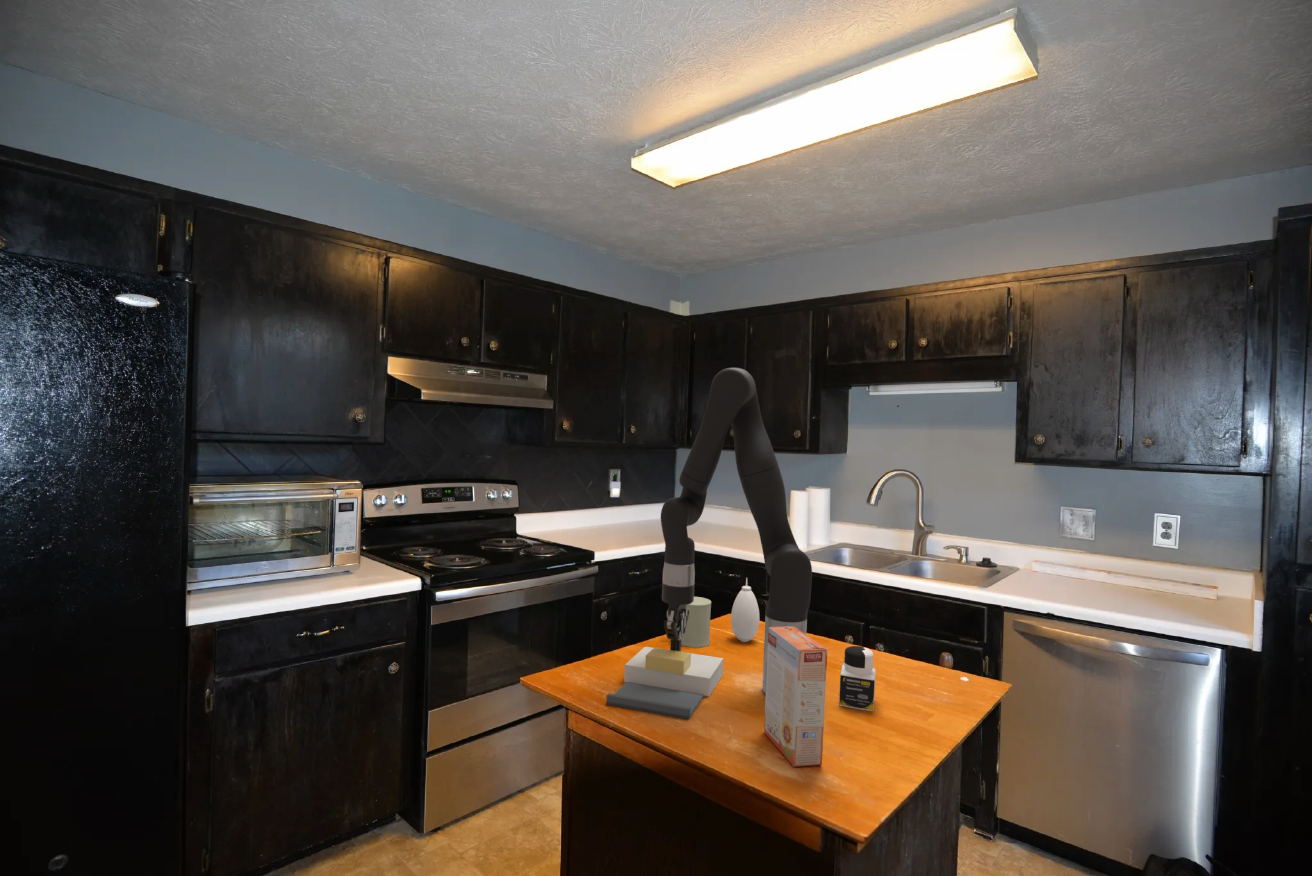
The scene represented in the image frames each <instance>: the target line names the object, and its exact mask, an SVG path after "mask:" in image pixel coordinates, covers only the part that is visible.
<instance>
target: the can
mask: <svg viewBox="0 0 1312 876" xmlns="http://www.w3.org/2000/svg"><path fill="white" fill-rule="evenodd" d="M711 608H712V601H711V600H710V599H708V598H705V597H699V596H694V601H693V602H692V603H691V604H688V605H686V609H687V610H689V616H688V621H687V625H686V630H685V634H683V638H682V639H681V646H683V647H688V648H704V647H707V646H709V645H710V643H711V641H710V635H711V634H710V633H711V631H710V630H711V629H710V628H711Z"/></svg>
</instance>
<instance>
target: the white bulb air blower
mask: <svg viewBox="0 0 1312 876" xmlns="http://www.w3.org/2000/svg"><path fill="white" fill-rule="evenodd" d="M745 579H746V580H745V585H743V586H741V590H740V591H739V592H738V593H737V595H736V597H735V600H734V601H733V605H732V608H731V616H730V625H731V629H732V633H733V635H734V636H735V637H736V638H737V639H738V640H739V641H740V642H741V643H748V642H750V641H751V640H752V639H754V637H756V634H757V632H758V630H759V626H760V609H759V605H758V600H757V598H756V595H755V594H754V592H753V591H752V587H751V586H749V585H748V577H746V578H745Z"/></svg>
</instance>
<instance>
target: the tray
mask: <svg viewBox="0 0 1312 876" xmlns="http://www.w3.org/2000/svg"><path fill="white" fill-rule="evenodd" d="M704 697H705V696H704V695H702V694H696V693H691V692H685V691H679V690H673V689H667V688H661V687H655V686H649V685H643V684H637V683H631V682H624V684H622V686H621V687H620V688H619V689H618V690H616V692H614V693H607V694H606V704H608V705H607V706H613V707H617V706H620V707H619V708H624V709H628V708H629V710H634V711H635V710H636V711H640V712H646V713H649V714H657V715H661V716H666V715H667V716H668V717H673V718H680V719H682V720H687V721H688V720H690V718H691V717H693V714H694V712H695V711H696V710H697V708H698V706H699V705H700V704H701V702H702V700H703V699H704Z"/></svg>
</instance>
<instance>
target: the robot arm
mask: <svg viewBox="0 0 1312 876" xmlns="http://www.w3.org/2000/svg"><path fill="white" fill-rule="evenodd" d="M756 387H757V386H756V382H755V379H754V378H753V375H751V373H750V372H749V371H747V370H746V369H743V368H740V367H728V368H727V367H726V368H724V369H722V370H720V371H719V372H718V373H716V374H715V376H714V377H713V379H712V381H711V385H710V389H709V393H708V398H707V403H706V407H705V411H704V415H703V417H702V420H701V422H700V423H701V424H700V427H699V430H698V431H697V434H696V437H695V439H694V442H693V444H692V446H691V449H690V451H689V454H688V456H687V458H686V460H685V463H684V465H683V468H682V470H681V473H680V475H679V479H678V480H679V484H680V486H681V487H682V489H681V493H680V496H677V497H671V498H670V497H669V498H668V499H666V500H665V502H664V503H663V505H662V507H661V509H660V525H661V530H662V535H663V536H662V537H663V540H664V545H665V547H664V562H663V568H662V583H661V584H662V587H661V592H662V593H661V600H662V602H664V603H667V604H668V609H667V610H666V618H667V620H664V621H663V627H664V631H665V634H666V638H667V639H668V640H670V648H669V650H673V651H680V652H682V645H681V639H682V638H683V634H685V630H686V625H687V621H688V616H689V610H687V609H686V605H688V604H691V603H692V602H693V601H694V597H695V575H696V571H695V569H696V568H695V551H696V550H695V548H696V545H695V541H694V540H693V538H692V537H689V534H688V527H689V526H692V525H694V524H696V523H697V522H698V521H699V519H700V518H701V516H702V514H703V512H704V509H705V503H706V499H707V494H708V487H709V486H710V484H711V482H712V479H713V477H714V474H715V471H716V469H717V466H718V463H719V461H720V457H721V453H722V450H723V446H724V442H725V440H726V437H727V434H728V431H729V429H730V427H731V430H732V435H733V442H734V445H733V446H734V455H735V457H734V458H735V464H736V470H737V474H738V477H739V479H740V480H739V481H740V484H741V488H742V491H743V494H744V495H745V500H746V502H747V505H748V507H749V510H750V512H751V515H752V517H753V520H754V523H755V525H756V528H757V531H758V534H759V538H760V544H761V549H762V553H763V554H762V555H763V561H764V564H765V565H764V566H765V570H766V572H767V574H768V576H769V577H770V578H769V593H768V594H769V595H768V600H767V602H766V604H765V619H764V620H765V621H764V638H763V639H764V642H763V664H762V665H763V666H762V683H761V684H762V692H763V694H765V695H766V677H767V656H768V633H769V627H786V626H792V627H796V628H797V629H799V630H800V631H801V632H803V633H804V634H806V635H807V630H808V629H807V628H808V627H807V626H808V625H807V624H808V611H809V609H810V605H811V598H812V597H811V595H812V583H813V582H812V581H813V567H812V566H813V565H812V562H811V559H810V558H809V556H808V555H807V553H805V552H804V551H802V550H801V549H800V547H799V545H798V544H797V542H796V538H795V537H794V534H793V530H792V528H791V525H790V521H789V518H788V511H787V496H786V489H785V484H784V480H783V479H784V478H783V476H782V473H781V469H780V466H779V462H778V459H777V457H776V454H775V451H774V449H773V445H772V442H771V440H770V437H769V435H768V432H767V430H766V428H765V425H764V422H763V417H762V414H761V408H760V404H759V398H758V393H757V388H756Z"/></svg>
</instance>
